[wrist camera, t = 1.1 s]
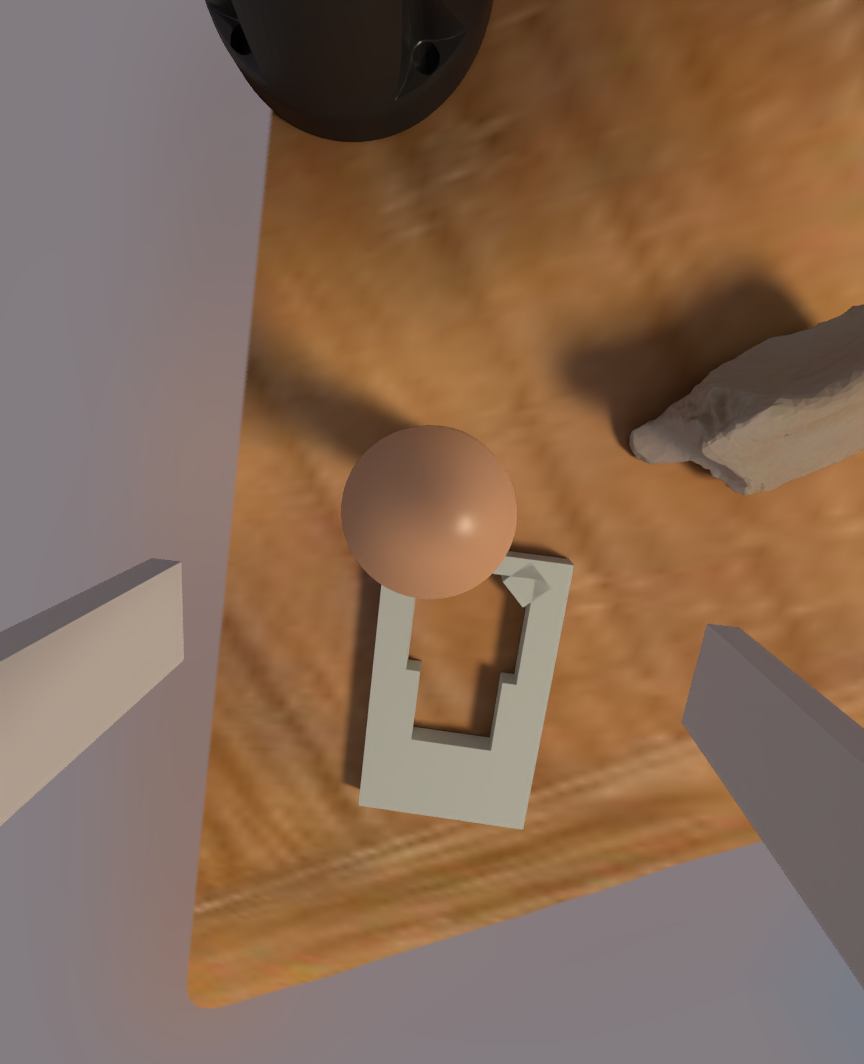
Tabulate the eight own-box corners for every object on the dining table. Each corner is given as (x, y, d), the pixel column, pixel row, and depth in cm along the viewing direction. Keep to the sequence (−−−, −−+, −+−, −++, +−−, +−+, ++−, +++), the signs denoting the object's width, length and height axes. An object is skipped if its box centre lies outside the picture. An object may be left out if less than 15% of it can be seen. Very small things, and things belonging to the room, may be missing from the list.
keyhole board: (389, 535, 33) (385, 540, 32) (568, 558, 33) (573, 565, 32) (362, 790, 38) (358, 805, 36) (520, 813, 38) (523, 829, 36)
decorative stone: (614, 403, 31) (667, 397, 23) (855, 301, 29) (1006, 255, 21) (655, 523, 32) (719, 557, 24) (888, 434, 30) (1041, 438, 22)
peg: (398, 417, 32) (348, 415, 18) (499, 429, 32) (530, 437, 17) (388, 515, 33) (334, 587, 19) (484, 528, 33) (502, 609, 19)
